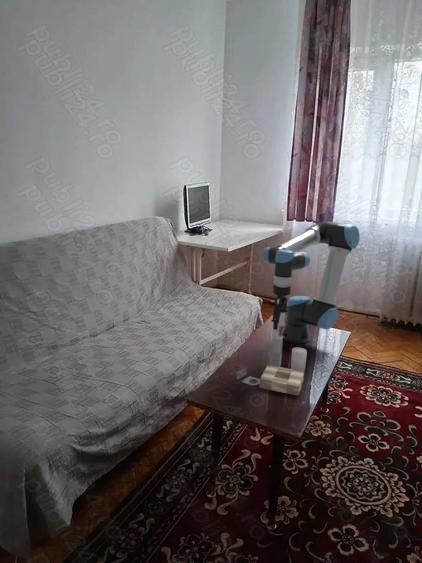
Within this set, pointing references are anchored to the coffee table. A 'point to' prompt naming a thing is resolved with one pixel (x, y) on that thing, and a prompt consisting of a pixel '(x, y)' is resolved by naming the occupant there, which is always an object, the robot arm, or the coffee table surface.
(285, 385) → the socket block
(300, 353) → the plastic dowel
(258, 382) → the bracket
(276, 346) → the grey long block
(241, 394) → the coffee table surface
